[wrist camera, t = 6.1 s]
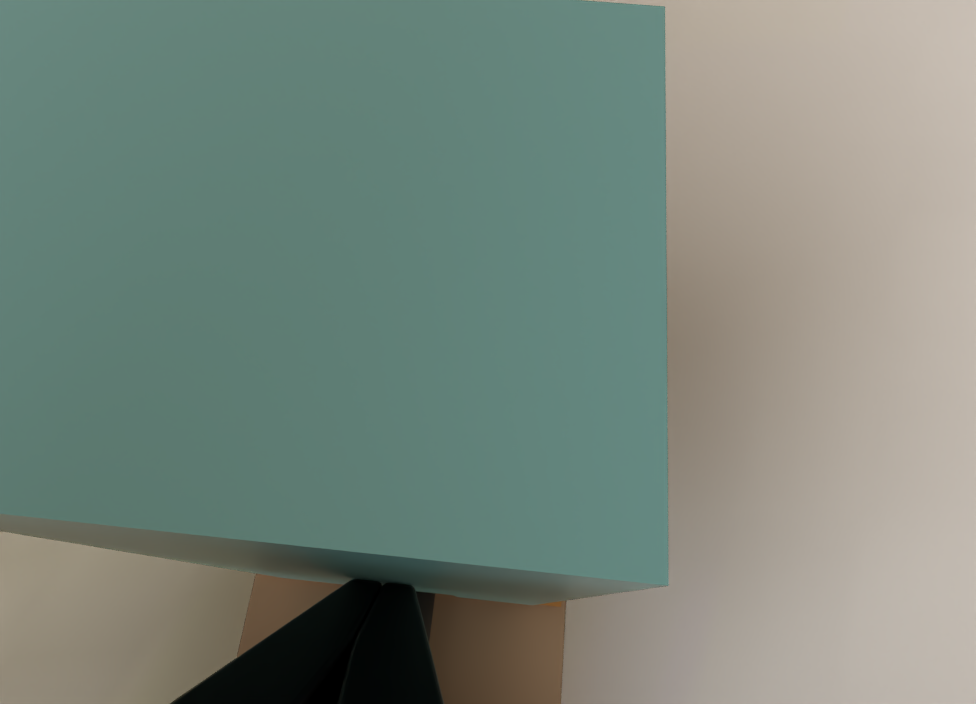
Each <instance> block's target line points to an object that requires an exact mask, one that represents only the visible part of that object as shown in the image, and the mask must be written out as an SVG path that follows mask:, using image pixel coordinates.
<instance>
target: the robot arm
mask: <svg viewBox="0 0 976 704" xmlns="http://www.w3.org/2000/svg"><path fill="white" fill-rule="evenodd" d="M170 704H444V700H443V696H442V692H441V688H440V685H439V681H438V677H437V673H436V669H435V665H434V661H433V657H432V653H431V649H430V645H429V641H428V637H427V633H426V630H425V626H424V622H423V618H422V614H421V610H420V606H419V602H418V598H417V594H416V590H415V588H414V587H413V586H411V585H406V584H397V583H385V584H383V585H382V583H380V582H378V581H369V580H360V579H352V580H350V581H348V582H347V583H345V584H344V585H342V586H341V587H339V588H338V589H336V590H335V591H333V592H332V593H331V594H329V595H328V596H326V597H325V598H323V599H322V600H320V601H319V602H317V603H316V604H315V605H313V606H312V607H310V608H309V609H307V610H306V611H304V612H303V613H301V614H300V615H298V616H297V617H296V618H294V619H293V620H291V621H290V622H288V623H287V624H285V625H284V626H282V627H281V628H279V629H278V630H277V631H275V632H274V633H272V634H271V635H269V636H268V637H266V638H265V639H263V640H262V641H260V642H259V643H258V644H256V645H255V646H253V647H252V648H250V649H249V650H247V651H246V652H244V653H243V654H241V655H240V656H239V657H237V658H236V659H234V660H233V661H231V662H230V663H228V664H227V665H225V666H224V667H222V668H221V669H220V670H218V671H217V672H215V673H214V674H212V675H211V676H209V677H208V678H206V679H205V680H203V681H202V682H201V683H199V684H198V685H196V686H195V687H193V688H192V689H190V690H189V691H187V692H186V693H184V694H183V695H182V696H180V697H179V698H177V699H176V700H174V701H173V702H171V703H170Z"/></svg>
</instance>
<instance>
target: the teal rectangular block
mask: <svg viewBox="0 0 976 704" xmlns="http://www.w3.org/2000/svg"><path fill="white" fill-rule="evenodd" d="M0 531H3V532H9V533H15V534H21V535H27V536H33V537H39V538H45V539H51V540H58V541H64V542H70V543H76V544H82V545H88V546H94V547H100V548H106V549H112V550H118V551H124V552H130V553H136V554H142V555H148V556H154V557H160V558H166V559H172V560H178V561H184V562H190V563H196V564H202V565H208V566H214V567H220V568H226V569H232V570H238V571H244V572H250V573H256V574H262V575H268V576H274V577H280V578H288V579H297V580H306V581H315V582H325V583H334V584H343V585H344V584H345V583H347V582H348V581H350V580H352V579H360V580H369V581H378V582H380V583H382V585H383V584H385V583H397V584H406V585H411V586H413V587H414V588H415V590H416V591H419V592H428V593H437V594H446V595H454V596H456V597H461V598H470V599H479V600H489V601H498V602H507V603H516V604H525V605H538V604H545V603H552V602H559V601H566V600H573V599H580V598H587V597H593V596H600V595H607V594H614V593H621V592H628V591H635V590H642V589H649V588H656V587H663V586H668V436H667V273H666V109H665V7H664V6H650V5H636V4H623V3H609V2H596V1H582V0H0Z"/></svg>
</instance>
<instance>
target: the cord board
mask: <svg viewBox="0 0 976 704" xmlns="http://www.w3.org/2000/svg"><path fill="white" fill-rule="evenodd" d="M342 585H343V584H334V583H325V582H315V581H306V580H297V579H288V578H280V577H274V576H268V575H262V574H256V575H255V579H254V584H253V588H252V593H251V597H250V601H249V606H248V610H247V615H246V619H245V623H244V628H243V632H242V636H241V641H240V645H239V650H238V654H237V657H239V656H240V655H241V654H243V653H244V652H246V651H247V650H249V649H250V648H252V647H253V646H255V645H256V644H258V643H259V642H260V641H262V640H263V639H265V638H266V637H268V636H269V635H271V634H272V633H274V632H275V631H277V630H278V629H279V628H281V627H282V626H284V625H285V624H287V623H288V622H290V621H291V620H293V619H294V618H296V617H297V616H298V615H300V614H301V613H303V612H304V611H306V610H307V609H309V608H310V607H312V606H313V605H315V604H316V603H317V602H319V601H320V600H322V599H323V598H325V597H326V596H328V595H329V594H331V593H332V592H333V591H335V590H336V589H338V588H339V587H341V586H342ZM416 594H417V598H418V602H419V606H420V610H421V614H422V618H423V622H424V626H425V630H426V633H427V637H428V641H429V645H430V649H431V653H432V657H433V661H434V665H435V669H436V673H437V677H438V681H439V685H440V688H441V692H442V696H443V700H444V704H561V688H562V668H563V649H564V629H565V610H566V601H559V602H552V603H545V604H538V605H525V604H516V603H507V602H498V601H489V600H479V599H470V598H461V597H456V596H454V595H446V594H437V593H428V592H419V591H416Z"/></svg>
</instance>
